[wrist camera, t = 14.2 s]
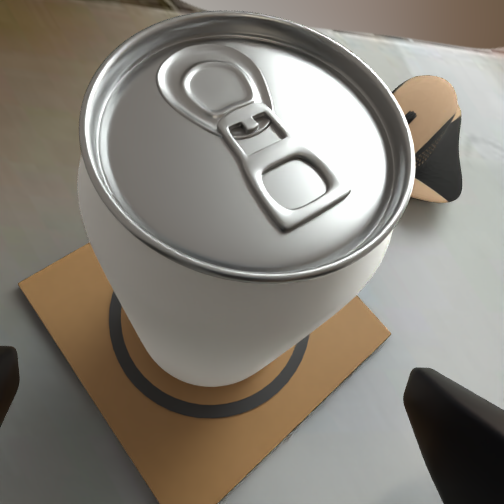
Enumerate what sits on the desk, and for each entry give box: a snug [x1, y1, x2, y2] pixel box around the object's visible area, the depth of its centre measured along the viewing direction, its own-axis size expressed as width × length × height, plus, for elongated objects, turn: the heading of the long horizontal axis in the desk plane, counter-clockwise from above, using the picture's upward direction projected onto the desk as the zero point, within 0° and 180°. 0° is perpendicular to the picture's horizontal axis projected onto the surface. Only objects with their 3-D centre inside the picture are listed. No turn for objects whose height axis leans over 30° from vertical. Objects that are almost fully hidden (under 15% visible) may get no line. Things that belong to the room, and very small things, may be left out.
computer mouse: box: [392, 75, 462, 203], centre depth 22 cm, size 6×10×4 cm, turn 137°
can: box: [77, 11, 415, 387], centre depth 12 cm, size 6×6×12 cm
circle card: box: [18, 243, 391, 504], centre depth 17 cm, size 12×12×1 cm
